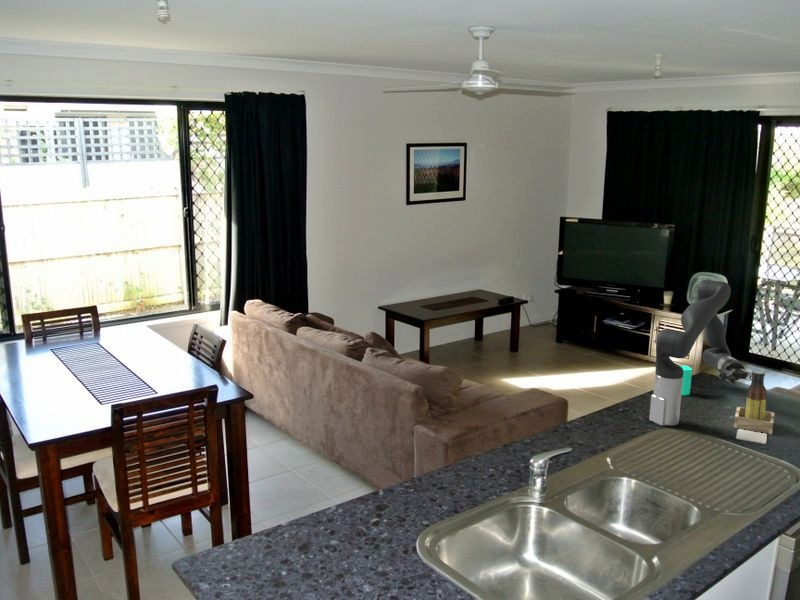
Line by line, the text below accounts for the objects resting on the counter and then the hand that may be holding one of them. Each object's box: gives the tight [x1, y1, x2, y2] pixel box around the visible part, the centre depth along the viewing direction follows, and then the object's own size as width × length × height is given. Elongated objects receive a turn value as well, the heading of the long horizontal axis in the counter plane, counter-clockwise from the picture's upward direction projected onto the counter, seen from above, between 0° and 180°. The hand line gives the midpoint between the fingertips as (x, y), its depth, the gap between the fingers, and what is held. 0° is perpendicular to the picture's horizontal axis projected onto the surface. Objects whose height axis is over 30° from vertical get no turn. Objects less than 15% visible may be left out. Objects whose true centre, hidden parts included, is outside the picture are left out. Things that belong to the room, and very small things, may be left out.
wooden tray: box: [733, 406, 775, 435], centre depth 251 cm, size 12×12×4 cm
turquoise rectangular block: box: [679, 363, 693, 396], centre depth 284 cm, size 6×6×12 cm
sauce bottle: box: [745, 369, 767, 421], centre depth 249 cm, size 7×6×20 cm
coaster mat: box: [735, 428, 768, 445], centre depth 241 cm, size 9×9×1 cm
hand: (746, 381), depth 260 cm, fingers open, 8 cm apart
